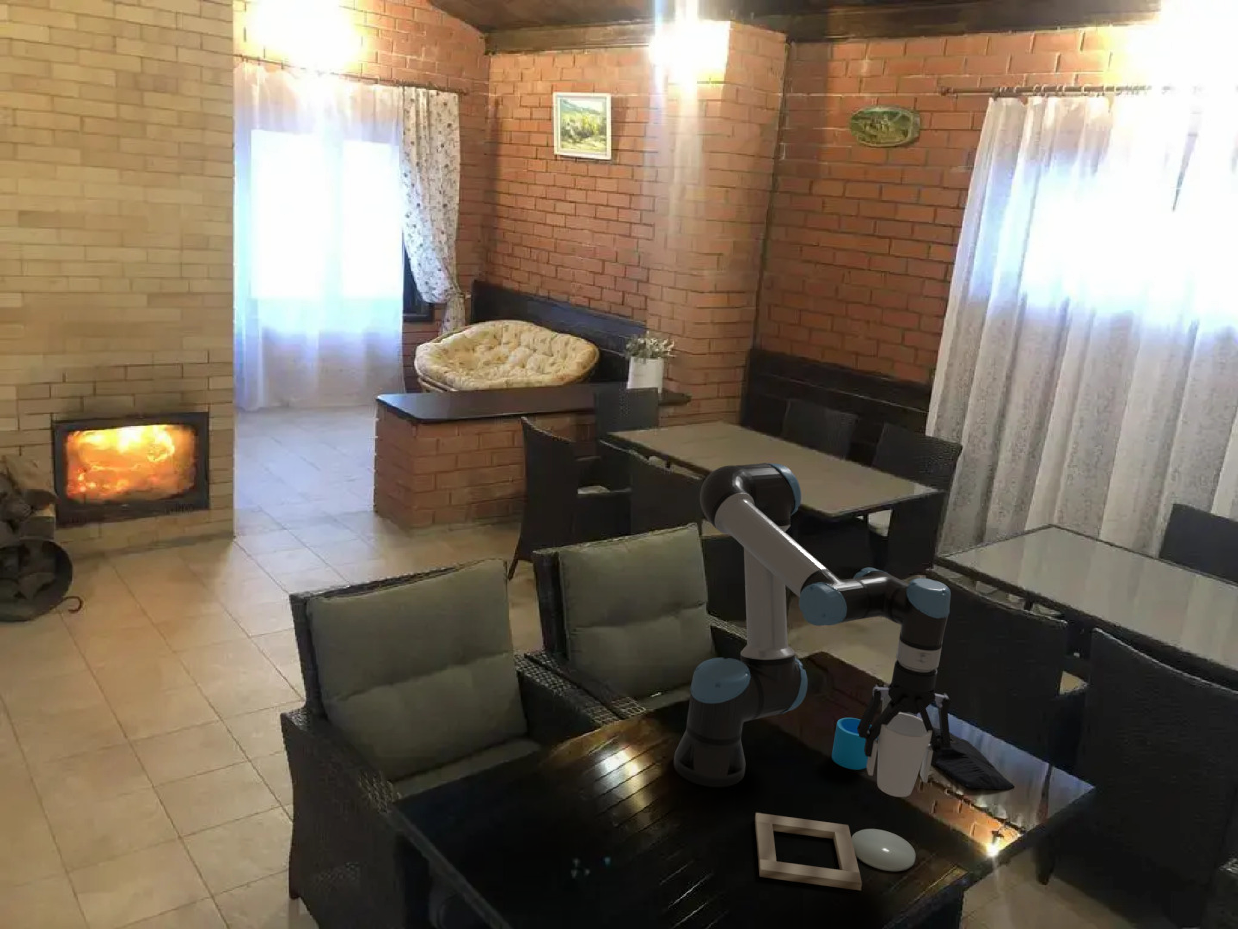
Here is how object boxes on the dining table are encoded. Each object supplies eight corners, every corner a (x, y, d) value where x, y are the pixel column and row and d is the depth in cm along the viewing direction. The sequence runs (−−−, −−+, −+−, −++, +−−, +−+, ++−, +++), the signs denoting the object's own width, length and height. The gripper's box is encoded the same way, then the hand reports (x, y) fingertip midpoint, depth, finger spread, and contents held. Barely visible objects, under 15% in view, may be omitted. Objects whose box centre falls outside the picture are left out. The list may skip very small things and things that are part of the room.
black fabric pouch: (958, 796, 218) (962, 776, 217) (904, 743, 239) (908, 725, 237) (1020, 792, 222) (1024, 772, 221) (962, 740, 243) (965, 722, 242)
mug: (851, 773, 222) (857, 739, 220) (823, 755, 229) (829, 722, 227) (888, 760, 229) (893, 727, 227) (860, 743, 236) (865, 711, 234)
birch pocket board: (759, 876, 184) (760, 869, 183) (754, 819, 201) (755, 812, 201) (860, 890, 183) (861, 883, 182) (847, 832, 200) (848, 825, 200)
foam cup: (921, 782, 194) (933, 720, 191) (919, 807, 186) (931, 742, 183) (871, 769, 197) (881, 707, 194) (866, 793, 189) (877, 729, 186)
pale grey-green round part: (855, 866, 189) (855, 862, 189) (846, 829, 201) (847, 825, 201) (920, 875, 189) (921, 871, 189) (908, 837, 200) (908, 833, 200)
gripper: (858, 665, 183) (839, 778, 188) (983, 680, 181) (961, 793, 187) (852, 648, 190) (834, 757, 195) (972, 663, 189) (951, 772, 194)
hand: (896, 775), depth 191 cm, fingers closed on foam cup, 9 cm apart
